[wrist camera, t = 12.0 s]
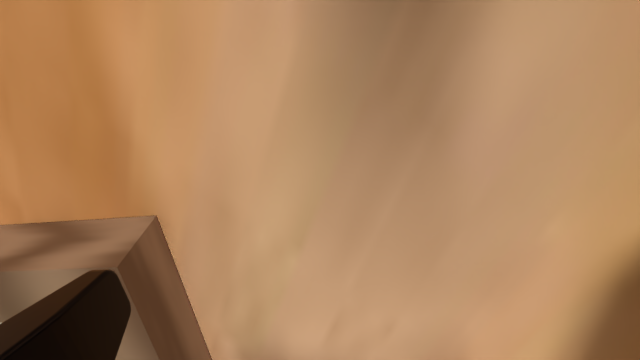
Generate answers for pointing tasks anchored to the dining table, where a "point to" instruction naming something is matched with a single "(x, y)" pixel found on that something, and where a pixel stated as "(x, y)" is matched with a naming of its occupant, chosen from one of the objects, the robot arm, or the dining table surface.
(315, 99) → the dining table surface
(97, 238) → the walnut base block
